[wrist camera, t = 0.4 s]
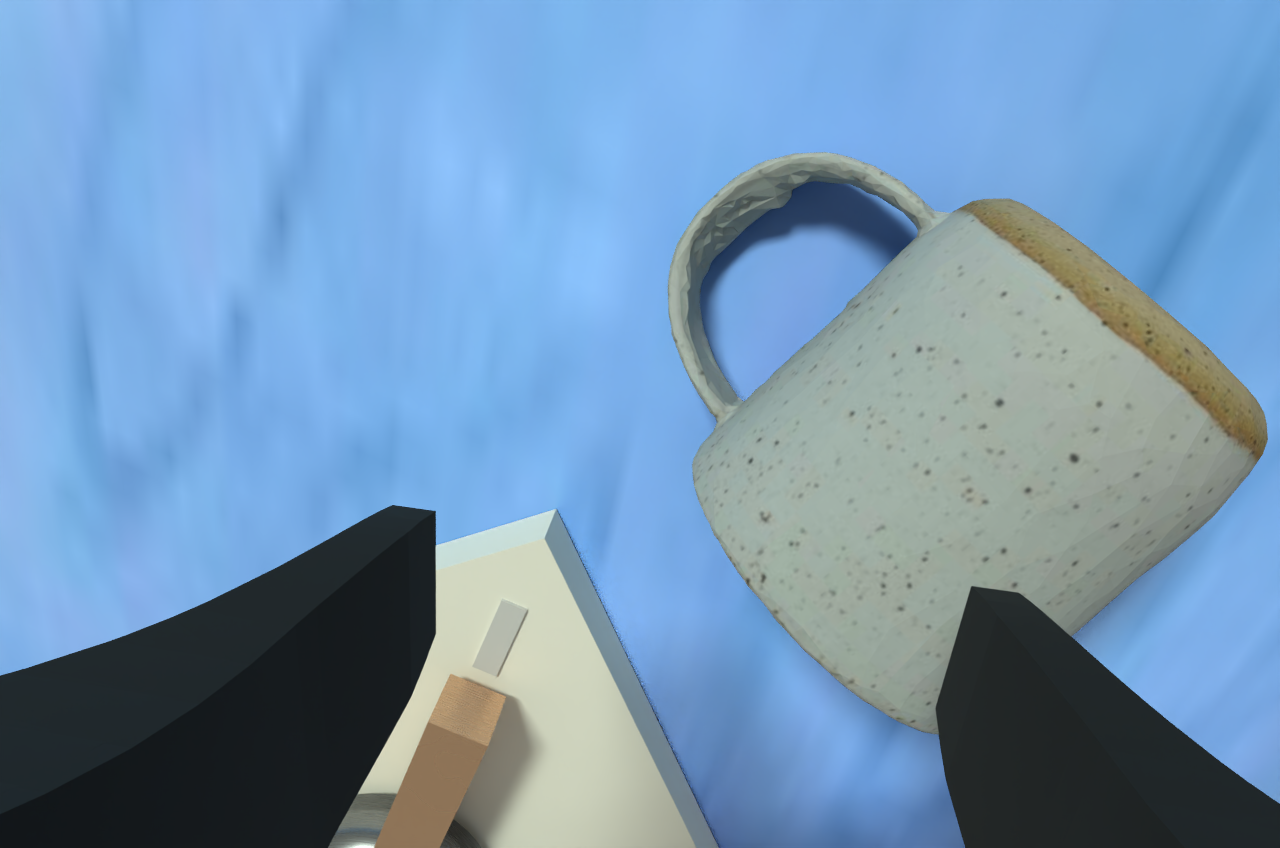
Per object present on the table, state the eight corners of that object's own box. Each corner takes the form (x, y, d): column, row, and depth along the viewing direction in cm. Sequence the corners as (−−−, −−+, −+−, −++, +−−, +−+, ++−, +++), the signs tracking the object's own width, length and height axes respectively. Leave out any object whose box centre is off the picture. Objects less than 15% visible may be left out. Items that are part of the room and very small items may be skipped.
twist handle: (456, 959, 28) (436, 1023, 26) (281, 890, 28) (247, 950, 26) (582, 725, 23) (569, 782, 22) (374, 639, 23) (342, 690, 21)
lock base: (771, 958, 29) (773, 1007, 28) (321, 1028, 33) (302, 1073, 32) (556, 509, 23) (543, 540, 22) (40, 665, 27) (1, 700, 26)
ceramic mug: (1182, 358, 20) (1417, 526, 13) (917, 585, 23) (989, 821, 16) (831, 44, 18) (877, 37, 11) (598, 334, 21) (518, 472, 14)
